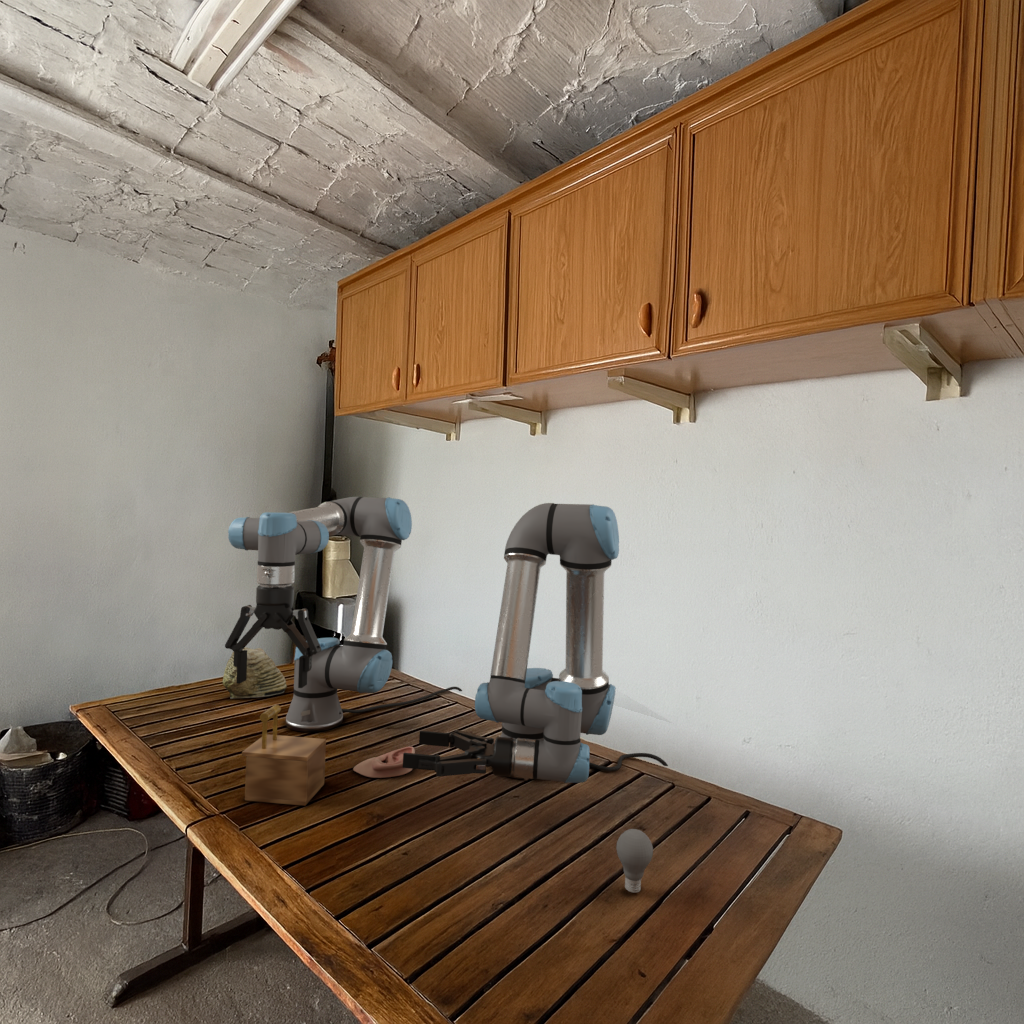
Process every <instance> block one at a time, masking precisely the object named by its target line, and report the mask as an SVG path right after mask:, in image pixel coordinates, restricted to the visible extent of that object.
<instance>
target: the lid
mask: <svg viewBox="0 0 1024 1024" xmlns="http://www.w3.org/2000/svg"><path fill="white" fill-rule="evenodd" d="M281 710H282V708H281V706H280V705H279V704H274V705H272V706H271V707H270V708H268V709H267V710H265V711H263V712H262V713H261V714H260V715H259V720H260V721H261V723H262V729H261V730H262V733H261V734H262V735H261V737H260V738H258V739H257V740H256V741H254V742H253V743H252V744H250V745H249V746H248V747H246V748H245V749H244V750H243V751H241V757H246V756H250V757H262V758H274V759H286V760H298V761H308V760H309V759H310V758H311V757H312V756H313V755H314V754H315V753H316V752H317V751H318V750H319V749H320V748H321V747H322V746H323V745H324V744H325V743H326V744H327V739H326V738H319V737H318V738H317V737H305V736H294V735H279V734H278V717H279V713H280V712H281ZM271 719H272V722H273V723H272V734H270V733H269V734H268V721H270V720H271Z"/></svg>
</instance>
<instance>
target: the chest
mask: <svg viewBox="0 0 1024 1024" xmlns="http://www.w3.org/2000/svg"><path fill="white" fill-rule="evenodd" d="M326 749H327V742H326V743H325V744H324V745H323V746H322V747H321V748H320V749H319V750H318V751H317V752H316V753H315V754H314V755H313V756H312V757H311V758H310V759H309V760H308V761H298V760H286V759H274V758H262V757H250V756H245V778H244V779H245V783H244V801H249V802H259V803H268V804H269V803H271V804H282V805H292V806H304V807H306V806H307V804H309V802H310V801H311V800H312V799H313V797H314V796H315V795H316V794H317V793H318V792H319V791H320V790H321V788H322V787H323V786H324V785H325V779H326V778H325V777H326V752H327V751H326Z"/></svg>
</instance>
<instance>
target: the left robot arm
mask: <svg viewBox="0 0 1024 1024" xmlns="http://www.w3.org/2000/svg"><path fill="white" fill-rule="evenodd" d="M412 527H413V520H412V514H411V509H410V507H409V506H408V504H407V503H406V501H405V500H403V499H400V498H393V497H389V496H388V497H379V496H378V497H376V496H371V497H370V496H349V497H344V498H338V499H334V500H330V501H324V502H322V503H320V504H319V505H318V506H317V507H311V508H305V509H300V510H299V509H298V510H294V511H293V510H292V511H287V512H277V511H276V512H272V511H270V512H269V511H265V512H262V513H261V514H260V516H259V517H251V516H245V517H236V518H235V519H233V521H231V523H230V524H229V526H228V530H227V533H228V536H227V539H228V541H229V543H230V545H231V546H232V547H233V548H234V549H239V550H244V551H257V567H256V568H257V569H256V570H257V571H256V584H258V585H257V587H256V591H255V592H256V593H255V603H256V605H255V606H253V605H252V604H247V605H244V606H242V607H241V608H240V614H239V617H238V620H237V621H236V623H235V625H234V627H233V629H232V631H231V633H230V635H229V636H228V638H227V641H225V644H224V647H225V649H226V650H227V649H229V650H231V651H232V652H234V667H237V683H238V684H240V683H242V682H244V681H246V676H247V650H243V649H245V647H247V645H248V644H249V643H250V642H251V641H253V639H254V638H255V637H256V636H257V634H258V633H259V632H260V631H261V630H262V629H263V628H264V630H269V629H273V630H276V631H277V630H282V631H283V632H284V633H286V635H287V636H288V637H289V639H290V640H291V641H292V643H293V644H294V645H295V646H296V647H295V652H294V653H295V654H294V659H293V660H294V672H293V695H292V696H293V697H292V699H291V702H290V704H289V708H288V711H287V713H286V715H285V726H286V728H287V729H289V730H291V731H294V732H295V731H296V732H301V733H316V732H325V731H329V730H332V729H335V728H337V727H339V726H340V725H342V723H343V722H344V713H349V714H362V713H367V712H370V711H374V710H379V709H383V708H384V709H385V708H392V707H400V706H405V705H409V704H413V703H417V702H420V701H421V702H422V701H424V700H426V699H429V698H431V697H434V696H436V695H440V694H442V693H446V692H449V691H452V690H457V691H458V692H463V689H462V688H460V687H459V686H450V687H447V688H444V689H440V690H437V691H434V692H432V693H430V694H427V695H424V696H421V697H418V698H414V699H411V700H405V701H402V702H401V701H400V702H394V703H386V704H379V705H373V706H369V707H366V708H362V709H350V708H342V706H341V702H340V699H339V695H338V690H342V691H350V692H358V693H359V694H376V693H378V692H380V691H381V690H382V689H383V688H384V686H385V685H386V683H387V682H388V680H389V678H390V675H391V673H392V668H393V654H392V652H390V651H389V650H388V649H387V646H388V643H387V642H386V640H385V638H384V637H383V635H384V628H385V621H386V616H387V615H386V614H387V608H388V600H389V595H390V587H391V580H392V573H393V566H394V561H395V560H394V559H395V553H396V551H398V550H399V549H400V548H401V547H402V542H403V541H405V540H408V539H409V537H410V536H411V533H412V529H413V528H412ZM338 535H339V536H351V537H358V538H359V543H360V544H361V546H362V547H363V553H362V559H361V560H362V561H361V566H360V573H359V578H358V579H359V580H358V585H357V592H356V599H355V603H354V612H353V617H352V623H351V630H350V634H349V635H348V636H346V637H345V638H344V639H343V645H340V644H341V641H340V639H339V638H337V637H320V638H319V637H317V635H316V633H315V631H314V628H313V626H312V624H311V621H310V619H309V610H308V608H306V607H304V608H302V609H295V608H294V602H295V601H294V600H295V599H294V598H295V587H294V585H293V584H294V583H295V579H296V578H295V572H296V571H295V570H296V569H295V567H296V566H295V565H296V555H307V554H310V555H312V554H315V553H319V552H321V551H323V550H324V549H325V548H326V547H327V546H328V544H329V540H330V537H331V536H338ZM253 615H254V616H255V617H256V619H257V620H256V621H255V622H254V623H253V624H252V626H251V627H250V629H248V631H247V632H246V633H245V634H244V635H243V636H242V634H243V632H244V631H245V629H246V626H247V625H248V623H249V621H250V619H251V617H252V616H253ZM293 617H295V619H296V620H297V622H298V625H299V627H300V629H301V631H302V634H303V635H302V634H301V632H300V631H299V630H298V628H297V627H296V626H297V625H296V624H295V622H294V621H293ZM241 636H242V637H241ZM303 636H304V637H303Z"/></svg>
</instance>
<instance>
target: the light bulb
mask: <svg viewBox="0 0 1024 1024" xmlns="http://www.w3.org/2000/svg"><path fill="white" fill-rule="evenodd" d="M615 849H616V854H617V857H618V859H619V861H620V863H621V865H622V867H623V873H624V874H623V875H624V876H625V878H624V888H625V890H627V891H628V892H630V893H634V894H635V893H639V892H640V891H641V889H642V887H641V886H642V879H643V877H644V875H645V871H646V868H647V867H648V866H649V864H650V863H651V861H652V859H653V855H654V847H653V843H652V841H651V838H649V836H648V835H647V834H646V833H645V832H643V831H642V830H641V829H636V828H629V829H627V830H625V831H623V832H622V833H621V834H620V835H619V837H618V839H617V841H616V847H615Z"/></svg>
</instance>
